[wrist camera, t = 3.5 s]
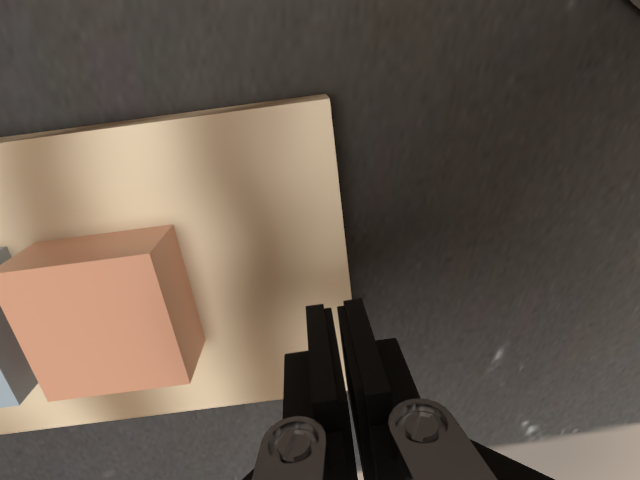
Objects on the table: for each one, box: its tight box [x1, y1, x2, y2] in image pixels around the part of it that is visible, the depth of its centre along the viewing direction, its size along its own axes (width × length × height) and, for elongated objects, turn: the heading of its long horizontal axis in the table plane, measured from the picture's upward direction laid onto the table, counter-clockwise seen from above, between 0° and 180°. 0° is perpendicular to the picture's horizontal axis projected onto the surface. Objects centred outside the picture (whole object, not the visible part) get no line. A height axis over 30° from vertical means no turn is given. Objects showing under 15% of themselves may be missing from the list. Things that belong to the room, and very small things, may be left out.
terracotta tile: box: [0, 224, 205, 402], centre depth 15 cm, size 5×5×2 cm
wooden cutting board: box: [0, 94, 352, 434], centre depth 17 cm, size 19×12×2 cm, turn 97°
